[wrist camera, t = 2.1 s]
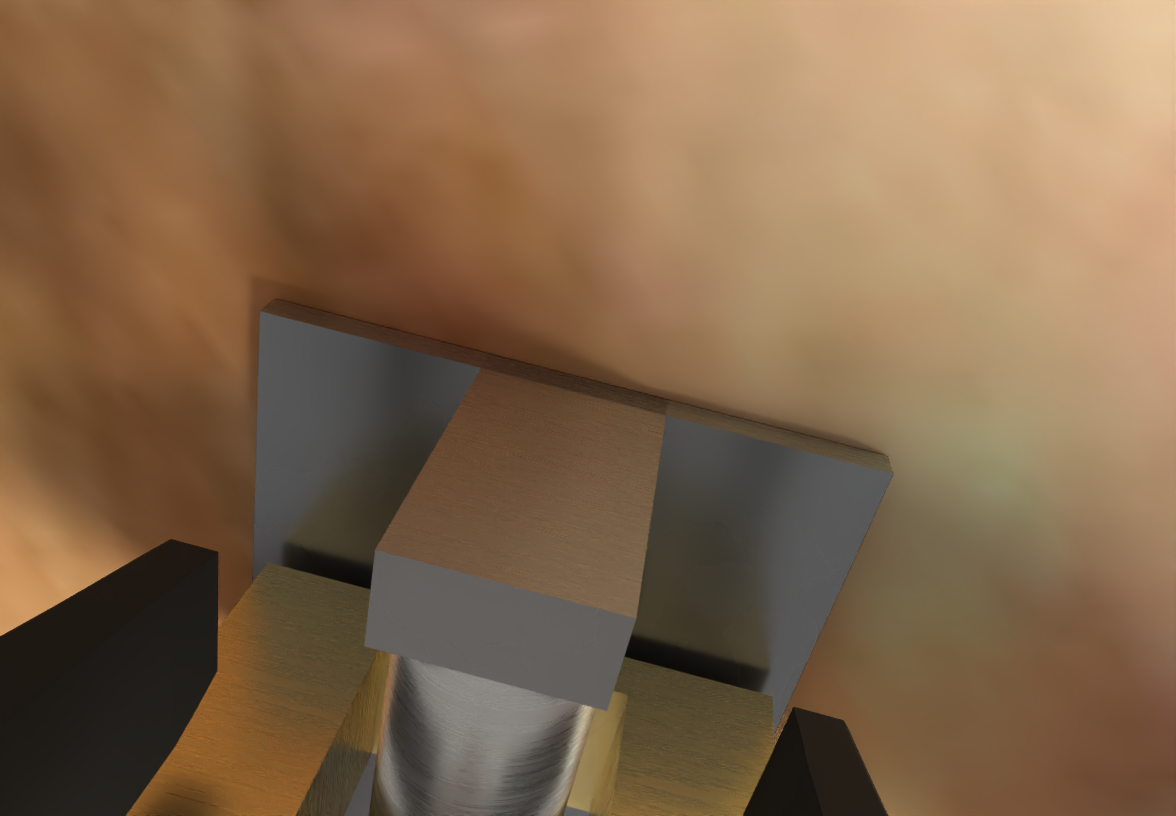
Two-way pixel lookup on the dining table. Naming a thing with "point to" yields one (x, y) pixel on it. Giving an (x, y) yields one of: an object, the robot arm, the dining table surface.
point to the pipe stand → (536, 547)
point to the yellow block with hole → (354, 711)
